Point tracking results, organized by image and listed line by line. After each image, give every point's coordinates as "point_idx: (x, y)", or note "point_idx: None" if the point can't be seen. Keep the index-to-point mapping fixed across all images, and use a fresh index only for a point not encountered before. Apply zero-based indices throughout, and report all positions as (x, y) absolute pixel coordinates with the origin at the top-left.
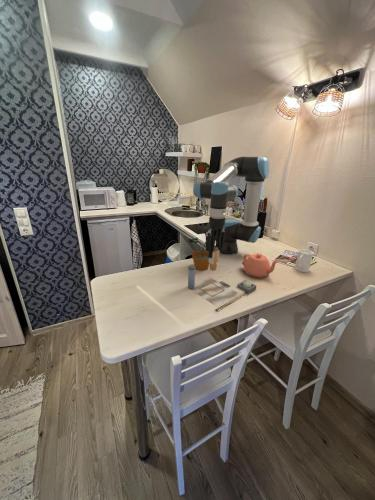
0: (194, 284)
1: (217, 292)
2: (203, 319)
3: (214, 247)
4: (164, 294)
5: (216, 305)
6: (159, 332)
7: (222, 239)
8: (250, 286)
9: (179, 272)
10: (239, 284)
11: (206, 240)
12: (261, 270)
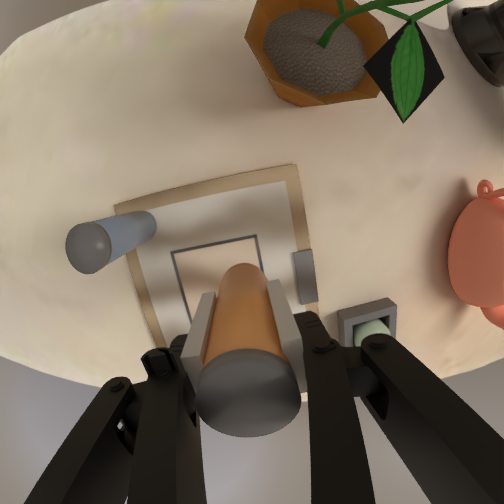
0: (146, 240)
1: None
2: None
3: (241, 408)
4: (49, 213)
5: None
6: (27, 352)
7: (411, 463)
8: None
9: (176, 61)
10: (350, 324)
11: (48, 492)
12: (474, 304)
